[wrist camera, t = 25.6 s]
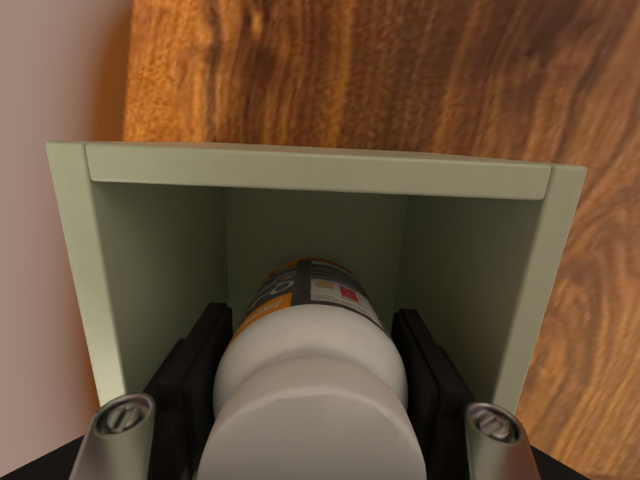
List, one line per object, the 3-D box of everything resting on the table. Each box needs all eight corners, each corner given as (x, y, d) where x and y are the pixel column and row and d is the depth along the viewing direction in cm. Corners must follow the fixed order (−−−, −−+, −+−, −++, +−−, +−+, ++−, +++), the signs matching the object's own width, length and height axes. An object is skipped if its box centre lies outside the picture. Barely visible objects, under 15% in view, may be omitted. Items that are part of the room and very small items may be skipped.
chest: (211, 142, 17) (42, 140, 6) (423, 152, 17) (591, 166, 7) (223, 354, 21) (132, 563, 10) (394, 359, 21) (470, 566, 11)
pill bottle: (275, 238, 15) (210, 320, 5) (382, 274, 16) (501, 409, 6) (241, 341, 16) (132, 574, 6) (344, 372, 16) (395, 637, 7)
